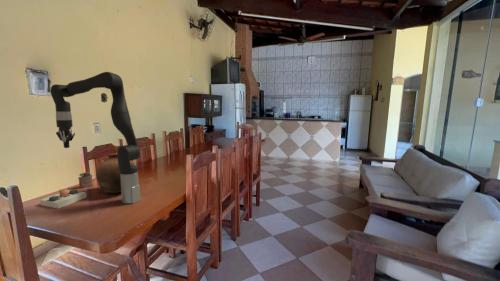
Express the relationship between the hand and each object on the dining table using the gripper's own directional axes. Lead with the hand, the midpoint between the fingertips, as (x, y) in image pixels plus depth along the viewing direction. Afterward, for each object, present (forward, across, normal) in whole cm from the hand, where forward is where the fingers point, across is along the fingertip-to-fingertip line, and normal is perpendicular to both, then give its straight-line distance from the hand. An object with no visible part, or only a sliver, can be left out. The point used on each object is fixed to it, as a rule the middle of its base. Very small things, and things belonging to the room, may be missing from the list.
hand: (66, 147), depth 146 cm
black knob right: (+28, -8, +4) cm, 29 cm away
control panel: (+29, -8, +10) cm, 32 cm away
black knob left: (+28, -8, +15) cm, 33 cm away
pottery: (+29, -23, -14) cm, 40 cm away
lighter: (+29, +2, -12) cm, 32 cm away
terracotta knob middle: (+26, -8, +10) cm, 28 cm away
